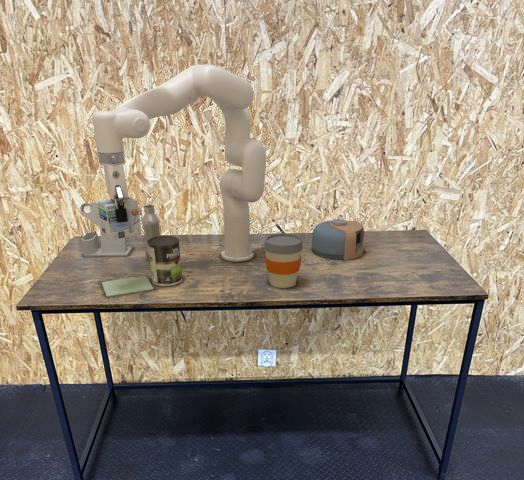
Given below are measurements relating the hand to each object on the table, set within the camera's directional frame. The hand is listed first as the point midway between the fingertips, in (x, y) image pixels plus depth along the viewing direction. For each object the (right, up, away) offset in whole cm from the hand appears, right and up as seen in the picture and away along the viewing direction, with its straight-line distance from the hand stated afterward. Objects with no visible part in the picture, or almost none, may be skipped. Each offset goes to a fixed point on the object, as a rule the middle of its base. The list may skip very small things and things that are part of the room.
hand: (119, 217), depth 153 cm
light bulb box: (0, -5, +3) cm, 6 cm away
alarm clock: (+73, -2, +42) cm, 84 cm away
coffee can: (+12, -17, +16) cm, 26 cm away
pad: (-1, -20, +12) cm, 23 cm away
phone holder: (-16, -3, +41) cm, 44 cm away
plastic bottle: (+4, -7, +33) cm, 34 cm away
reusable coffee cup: (+51, -18, +15) cm, 56 cm away
